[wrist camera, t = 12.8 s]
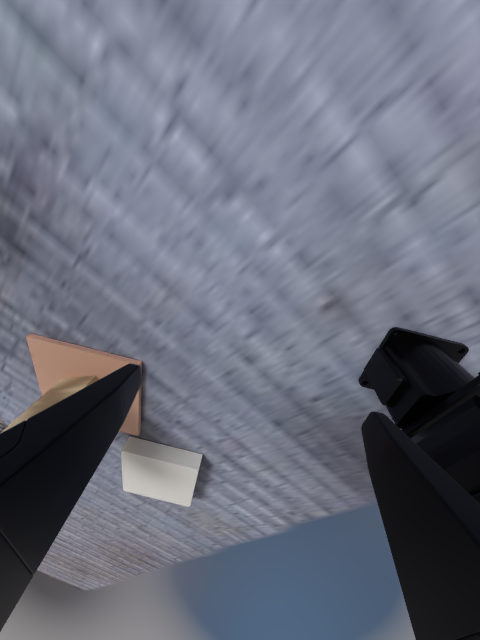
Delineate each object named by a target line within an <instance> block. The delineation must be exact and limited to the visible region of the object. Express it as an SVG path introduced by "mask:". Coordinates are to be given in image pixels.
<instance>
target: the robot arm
mask: <svg viewBox="0 0 480 640" xmlns="http://www.w3.org/2000/svg"><path fill="white" fill-rule="evenodd" d="M396 332H398V333H397V334H396V335H394V333H396ZM460 349H461V350H460ZM458 350H459V351H458ZM468 351H469V349H468V347H467V346H465V345H464V344H462V343H458V342H454V341H450V340H446V339H442V338H438V337H434V336H430V335H426V334H422V333H418V332H414V331H410V330H406V329H402V328H398V327H394V328H392V329H390V330H389V331H388V333H387V335H386V336H385V338H384V339H383V341H382V343H381V344H380V346H379V347H378V348H377V349H376V351H375V352H374V354H373V356H372V357H371V359H370V360H369V362H368V364H367V365H366V367H365V368H364V371H363V373H362V375H361V376H360V378H359V380H358V381H359V384H360V385H361V386H362V387H366V388H370V389H374V390H375V392H376V394H377V396H378V398H379V400H380V402H381V404H382V405H385V406H386V407H387V409H388V411H389V413H390V415H391V417H392V418H393V420H394V422H395V424H396V425H395V424H394V423H393V422H392V421H391V420H390V419H389V418H388V417H387V416H386V415H385V414H383V413H379V412H371V413H370V414H369V415H368V417H367V418H366V420H365V421H364V423H363V425H362V436H363V441H364V447H365V453H366V458H367V464H368V469H369V473H370V477H371V481H372V485H373V488H374V492H375V495H376V499H377V502H378V506H379V509H380V513H381V517H382V520H383V524H384V527H385V531H386V535H387V538H388V542H389V545H390V549H391V553H392V556H393V559H394V563H395V566H396V570H397V574H398V577H399V581H400V585H401V588H402V592H403V595H404V599H405V602H406V606H407V610H408V613H409V617H410V620H411V624H412V628H413V631H414V635H415V638H416V640H480V372H479V373H478V374H479V375H478V376H477V377H476V378H474V377H473V376H472V375H471V374H469V373H468V372H467V371H466V370H465V369H464V368H463V367H462V366H461V365H460V364H459V362H460V361H461V359H462V358H463V357H464V356H465V355H466V354H467V352H468ZM364 381H366V382H364ZM140 386H141V367H140V365H137V364H132V363H129V364H127V365H125V366H123V367H121V368H119V369H118V370H116V371H114V372H112V373H110V374H108V375H107V376H105V377H103V378H101V379H99V380H98V381H96V382H94V383H92V384H90V385H88V386H87V387H85V388H83V389H81V390H79V391H77V392H76V393H74V394H72V395H70V396H68V397H66V398H65V399H63V400H61V401H59V402H57V403H56V404H54V405H52V406H50V407H48V408H46V409H45V410H43V411H41V412H39V413H37V414H35V415H34V416H32V417H30V418H28V419H27V421H26V420H25V421H22V422H21V423H19V424H17V425H15V426H13V427H12V428H10V429H8V430H6V431H4V432H2V433H0V631H1V630H2V628H3V626H4V624H5V623H6V621H7V619H8V618H9V616H10V614H11V613H12V611H13V609H14V608H15V606H16V604H17V603H18V601H19V599H20V597H21V596H22V594H23V593H24V590H25V589H26V587H27V586H28V584H29V582H30V581H31V579H32V577H33V574H34V573H35V572H36V570H37V569H38V567H39V565H40V563H41V562H42V560H43V558H44V557H45V555H46V553H47V552H48V550H49V548H50V547H51V545H52V543H53V542H54V540H55V538H56V536H57V535H58V533H59V531H60V530H61V528H62V526H63V525H64V523H65V521H66V520H67V518H68V516H69V515H70V513H71V511H72V509H73V508H74V506H75V504H76V503H77V501H78V499H79V498H80V496H81V494H82V493H83V491H84V489H85V487H86V486H87V484H88V482H89V481H90V479H91V477H92V476H93V474H94V472H95V471H96V469H97V467H98V466H99V464H100V462H101V460H102V459H103V457H104V455H105V454H106V452H107V450H108V449H109V447H110V445H111V444H112V442H113V440H114V438H115V437H116V435H117V433H118V432H119V430H120V428H121V426H122V425H123V423H124V421H125V419H126V417H127V414H128V412H129V410H130V408H131V406H132V403H133V401H134V399H135V397H136V395H137V392H138V390H139V388H140ZM400 428H401V429H402V430H401V429H400Z"/></svg>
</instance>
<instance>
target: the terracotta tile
mask: <svg viewBox="0 0 480 640" xmlns="http://www.w3.org/2000/svg"><path fill="white" fill-rule="evenodd" d="M26 339H27V343H28V346H29V350H30V354H31V357H32V361H33V364H34V368H35V372H36V375H37V379H38V383H39V386H40V390H41V394H42V396H43V395H44V394H45V393H46V392H47V391H48V390H49V389H50V388H52V387H53V386H54V385H55V384H56V383H57V382H58V381H59V380H61V379H62V378H72V377H83V376H94V375H96V376H97V378H98V380H99V379H101V378H103V377H105V376H107V375H108V374H110V373H112V372H114V371H116V370H118V369H119V368H121V367H123V366H125V365H127V364H129V363H132V364H137V365H140V367H141V384H142V361H139V360H135V359H131V358H127V357H123V356H119V355H115V354H111V353H107V352H103V351H99V350H95V349H91V348H87V347H83V346H79V345H75V344H71V343H67V342H63V341H59V340H55V339H51V338H47V337H43V336H39V335H35V334H29V335H28V336H26ZM119 431H120V432H124V433H128V434H132V435H136V436H139V434H140V432H141V386H140V388H139V390H138V392H137V395H136V397H135V399H134V401H133V403H132V406H131V408H130V410H129V412H128V414H127V417H126V419H125V421H124V423H123V425H122V426H121V428H120V430H119Z"/></svg>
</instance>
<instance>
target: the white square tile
mask: <svg viewBox="0 0 480 640" xmlns="http://www.w3.org/2000/svg"><path fill="white" fill-rule="evenodd" d="M202 455H203V454H199V453H195V452H191V451H187V450H183V449H179V448H175V447H171V446H167V445H163V444H159V443H155V442H151V441H147V440H143V439H138V438H134V437H130V436H129V438H128V440H127V442H126V443H125V445H124V447H123V448H122V450H121V456H122V477H123V491H127V492H131V493H135V494H139V495H143V496H147V497H151V498H155V499H159V500H163V501H167V502H171V503H175V504H179V505H183V506H187V507H190V504H191V500H192V497H193V493H194V489H195V484H196V480H197V476H198V472H199V468H200V464H201V459H202Z"/></svg>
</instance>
